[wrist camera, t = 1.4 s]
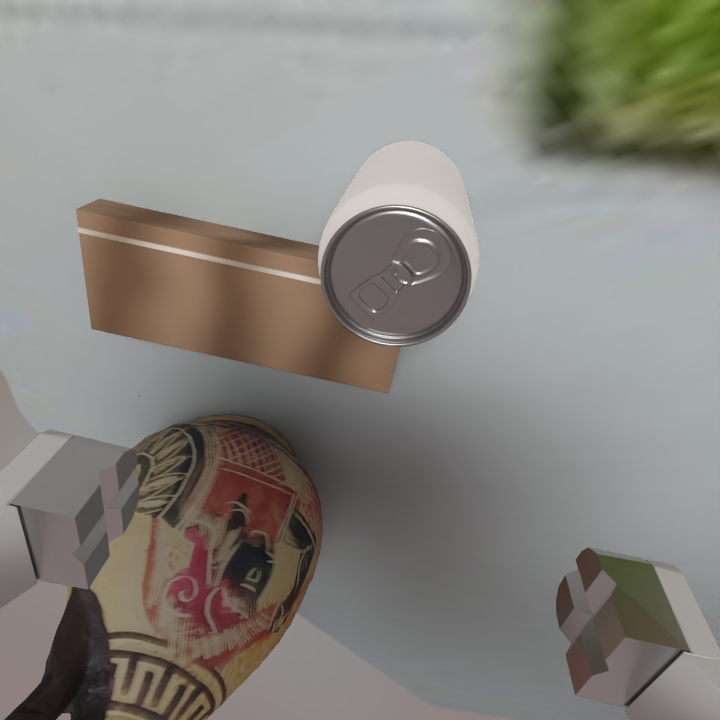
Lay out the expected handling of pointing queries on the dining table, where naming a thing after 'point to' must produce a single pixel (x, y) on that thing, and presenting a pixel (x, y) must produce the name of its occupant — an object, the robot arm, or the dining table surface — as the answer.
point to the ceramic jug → (188, 579)
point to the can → (400, 247)
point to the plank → (219, 294)
